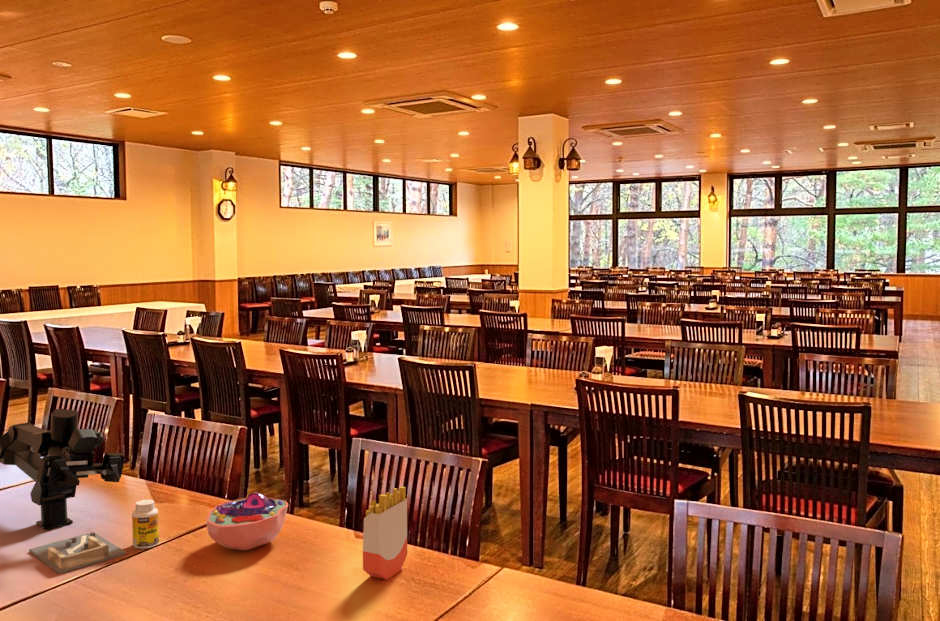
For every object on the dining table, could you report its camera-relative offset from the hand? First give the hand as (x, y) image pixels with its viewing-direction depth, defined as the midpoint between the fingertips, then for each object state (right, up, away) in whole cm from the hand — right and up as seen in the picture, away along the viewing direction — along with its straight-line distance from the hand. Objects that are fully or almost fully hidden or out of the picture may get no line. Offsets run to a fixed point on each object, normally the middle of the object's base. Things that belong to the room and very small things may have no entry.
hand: (99, 481), depth 175 cm
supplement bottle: (+9, -16, +4) cm, 19 cm away
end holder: (-3, -16, -4) cm, 17 cm away
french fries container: (+66, -17, -11) cm, 69 cm away
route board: (-5, -16, 0) cm, 17 cm away
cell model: (+32, -16, +5) cm, 36 cm away
